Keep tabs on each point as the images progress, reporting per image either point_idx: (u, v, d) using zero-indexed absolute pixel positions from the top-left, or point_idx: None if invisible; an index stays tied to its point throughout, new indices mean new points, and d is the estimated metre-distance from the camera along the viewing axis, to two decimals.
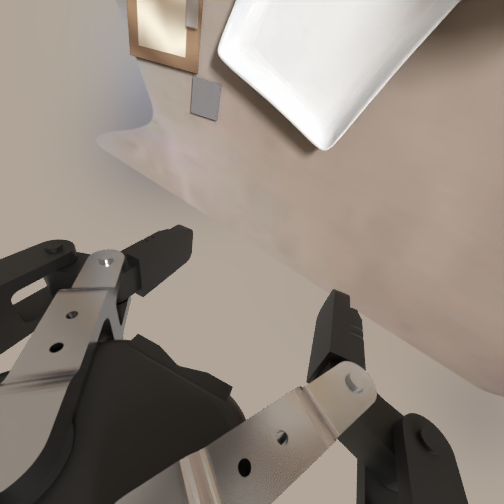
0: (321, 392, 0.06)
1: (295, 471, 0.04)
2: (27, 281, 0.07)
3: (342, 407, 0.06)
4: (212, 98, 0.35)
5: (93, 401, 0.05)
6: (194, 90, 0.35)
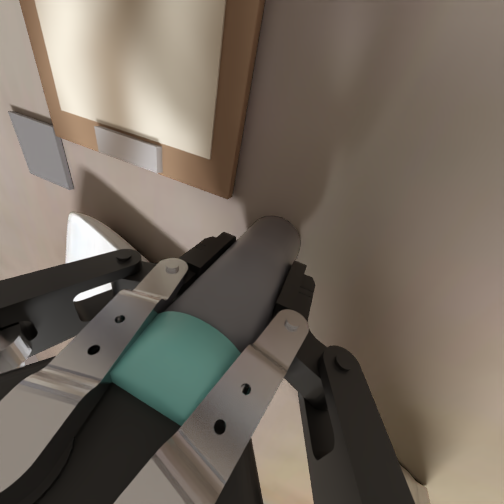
0: None
1: (262, 408, 0.05)
2: (90, 286, 0.07)
3: (286, 346, 0.07)
4: (47, 169, 0.19)
5: (93, 401, 0.05)
6: (37, 127, 0.17)
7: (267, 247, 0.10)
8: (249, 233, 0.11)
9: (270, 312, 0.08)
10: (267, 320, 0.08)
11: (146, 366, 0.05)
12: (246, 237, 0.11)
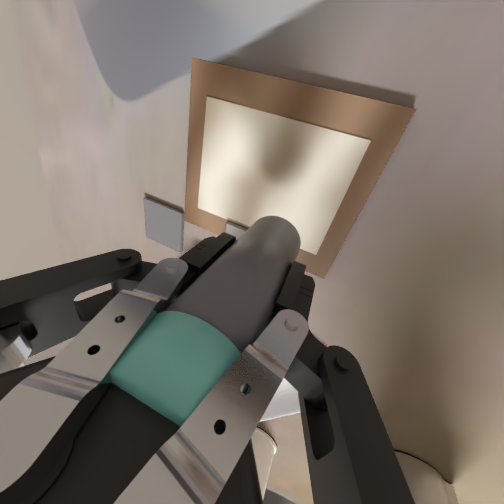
0: None
1: (261, 408, 0.05)
2: (90, 286, 0.07)
3: (286, 346, 0.07)
4: (165, 237, 0.25)
5: (93, 401, 0.05)
6: (167, 211, 0.23)
7: (268, 246, 0.10)
8: (249, 233, 0.11)
9: (270, 312, 0.08)
10: (267, 319, 0.08)
11: (145, 366, 0.05)
12: (246, 237, 0.11)
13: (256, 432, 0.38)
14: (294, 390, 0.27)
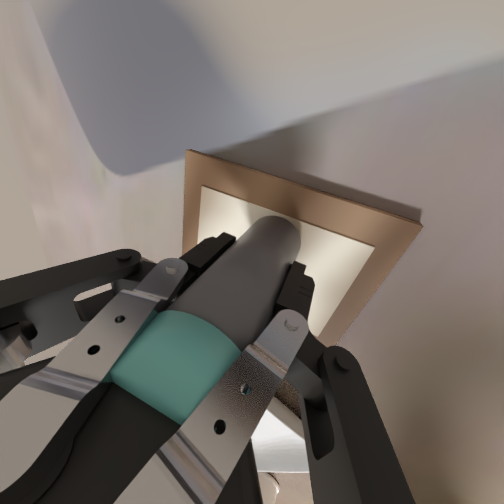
0: None
1: (262, 408, 0.05)
2: (90, 286, 0.07)
3: (286, 346, 0.07)
4: None
5: (93, 401, 0.05)
6: None
7: (268, 246, 0.10)
8: (249, 232, 0.11)
9: (271, 311, 0.08)
10: (268, 319, 0.08)
11: (147, 365, 0.05)
12: (246, 236, 0.11)
13: (258, 473, 0.38)
14: (297, 448, 0.26)
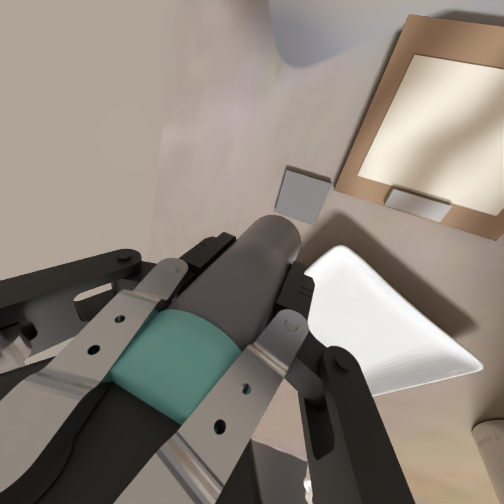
0: None
1: (262, 408, 0.05)
2: (90, 286, 0.07)
3: (286, 346, 0.07)
4: (299, 210, 0.25)
5: (93, 401, 0.05)
6: (313, 182, 0.23)
7: (268, 245, 0.10)
8: (249, 232, 0.11)
9: (271, 311, 0.08)
10: (268, 318, 0.08)
11: (146, 364, 0.05)
12: (246, 236, 0.11)
13: None
14: (418, 362, 0.27)
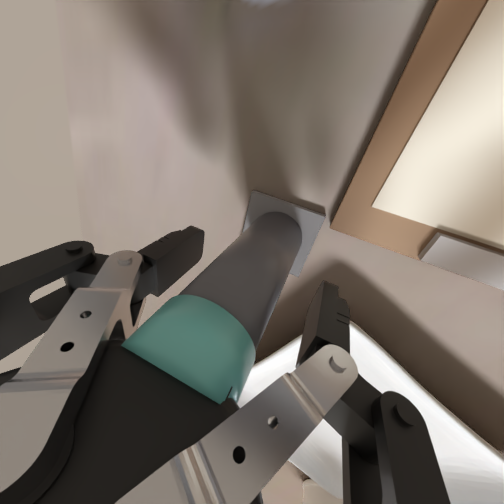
0: (305, 371, 0.06)
1: (287, 451, 0.04)
2: (45, 281, 0.07)
3: (327, 387, 0.06)
4: None
5: (93, 401, 0.05)
6: (296, 213, 0.14)
7: (271, 239, 0.11)
8: (253, 227, 0.12)
9: (274, 299, 0.09)
10: (271, 306, 0.09)
11: (165, 338, 0.05)
12: (251, 231, 0.12)
13: None
14: (455, 478, 0.18)
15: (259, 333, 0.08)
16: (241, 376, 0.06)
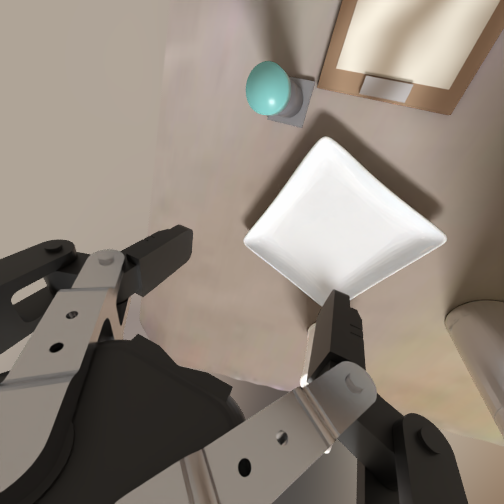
0: (321, 392, 0.06)
1: (295, 471, 0.04)
2: (27, 281, 0.07)
3: (342, 407, 0.06)
4: None
5: (93, 401, 0.05)
6: (299, 82, 0.27)
7: None
8: None
9: (294, 90, 0.22)
10: (294, 90, 0.22)
11: None
12: None
13: None
14: (395, 253, 0.32)
15: (291, 88, 0.20)
16: (288, 83, 0.19)
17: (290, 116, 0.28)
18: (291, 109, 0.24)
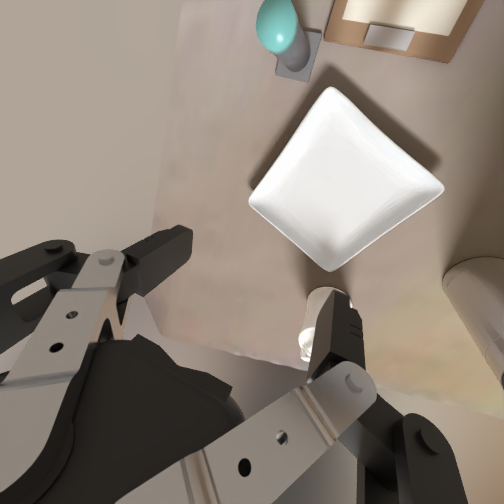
0: (321, 392, 0.06)
1: (295, 471, 0.04)
2: (27, 281, 0.07)
3: (342, 407, 0.06)
4: None
5: (93, 401, 0.05)
6: (307, 35, 0.28)
7: None
8: None
9: (301, 32, 0.23)
10: (301, 31, 0.23)
11: None
12: None
13: None
14: (394, 208, 0.33)
15: (298, 27, 0.22)
16: (296, 17, 0.20)
17: (297, 69, 0.29)
18: (298, 54, 0.25)
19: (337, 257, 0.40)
